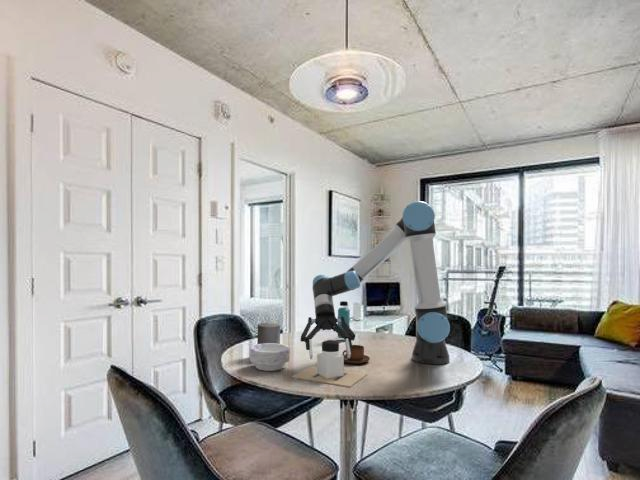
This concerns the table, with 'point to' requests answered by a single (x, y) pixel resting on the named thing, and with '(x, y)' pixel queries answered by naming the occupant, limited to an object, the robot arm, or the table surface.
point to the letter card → (346, 380)
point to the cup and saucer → (356, 355)
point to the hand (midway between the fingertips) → (330, 356)
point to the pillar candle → (268, 333)
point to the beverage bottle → (344, 314)
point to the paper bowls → (269, 356)
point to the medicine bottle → (330, 360)
